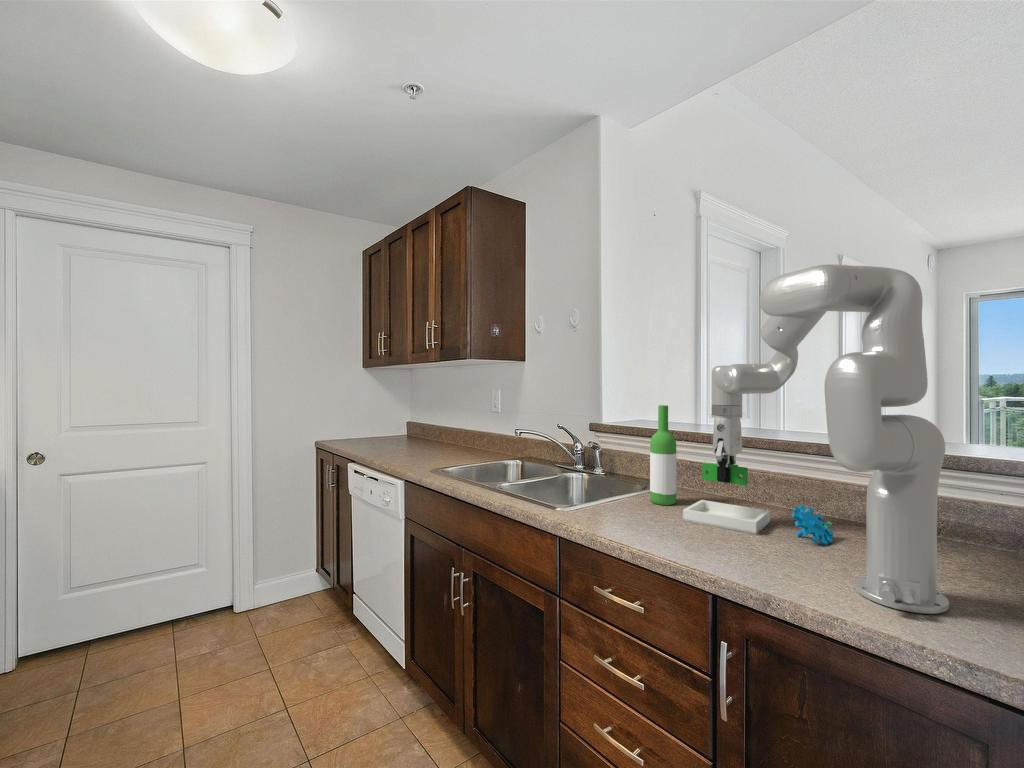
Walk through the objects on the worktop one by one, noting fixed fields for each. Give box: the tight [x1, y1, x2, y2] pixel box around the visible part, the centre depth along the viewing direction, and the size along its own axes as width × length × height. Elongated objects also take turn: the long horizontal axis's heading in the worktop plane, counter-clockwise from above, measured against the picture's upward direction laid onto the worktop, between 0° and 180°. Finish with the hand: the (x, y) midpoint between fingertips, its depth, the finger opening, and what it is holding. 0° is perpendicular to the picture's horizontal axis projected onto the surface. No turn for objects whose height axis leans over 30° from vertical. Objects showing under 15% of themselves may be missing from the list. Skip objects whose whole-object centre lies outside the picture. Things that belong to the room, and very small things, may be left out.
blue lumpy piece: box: [791, 504, 834, 546], centre depth 115 cm, size 11×6×10 cm
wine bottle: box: [649, 404, 677, 506], centre depth 148 cm, size 8×8×30 cm
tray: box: [682, 499, 771, 536], centre depth 129 cm, size 14×18×3 cm
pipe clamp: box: [701, 462, 749, 486], centre depth 129 cm, size 11×4×5 cm, turn 50°
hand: (726, 479), depth 129 cm, fingers closed on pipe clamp, 3 cm apart
